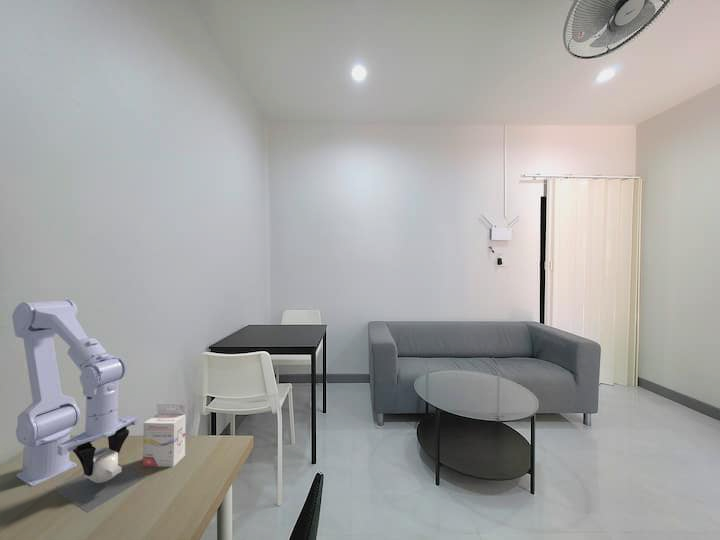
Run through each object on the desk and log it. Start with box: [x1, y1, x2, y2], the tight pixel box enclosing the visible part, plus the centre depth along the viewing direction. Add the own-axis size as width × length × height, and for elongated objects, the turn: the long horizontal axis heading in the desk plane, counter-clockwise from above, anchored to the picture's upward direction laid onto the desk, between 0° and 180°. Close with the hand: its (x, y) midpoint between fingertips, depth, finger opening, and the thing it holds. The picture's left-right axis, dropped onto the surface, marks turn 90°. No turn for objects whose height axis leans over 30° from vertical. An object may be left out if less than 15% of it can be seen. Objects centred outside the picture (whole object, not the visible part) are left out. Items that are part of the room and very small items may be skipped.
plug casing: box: [83, 446, 122, 483], centre depth 65 cm, size 11×4×4 cm, turn 66°
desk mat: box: [52, 463, 147, 513], centre depth 65 cm, size 16×11×1 cm
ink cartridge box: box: [142, 402, 187, 468], centre depth 73 cm, size 9×5×15 cm, turn 88°
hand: (100, 468), depth 65 cm, fingers closed on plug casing, 4 cm apart
